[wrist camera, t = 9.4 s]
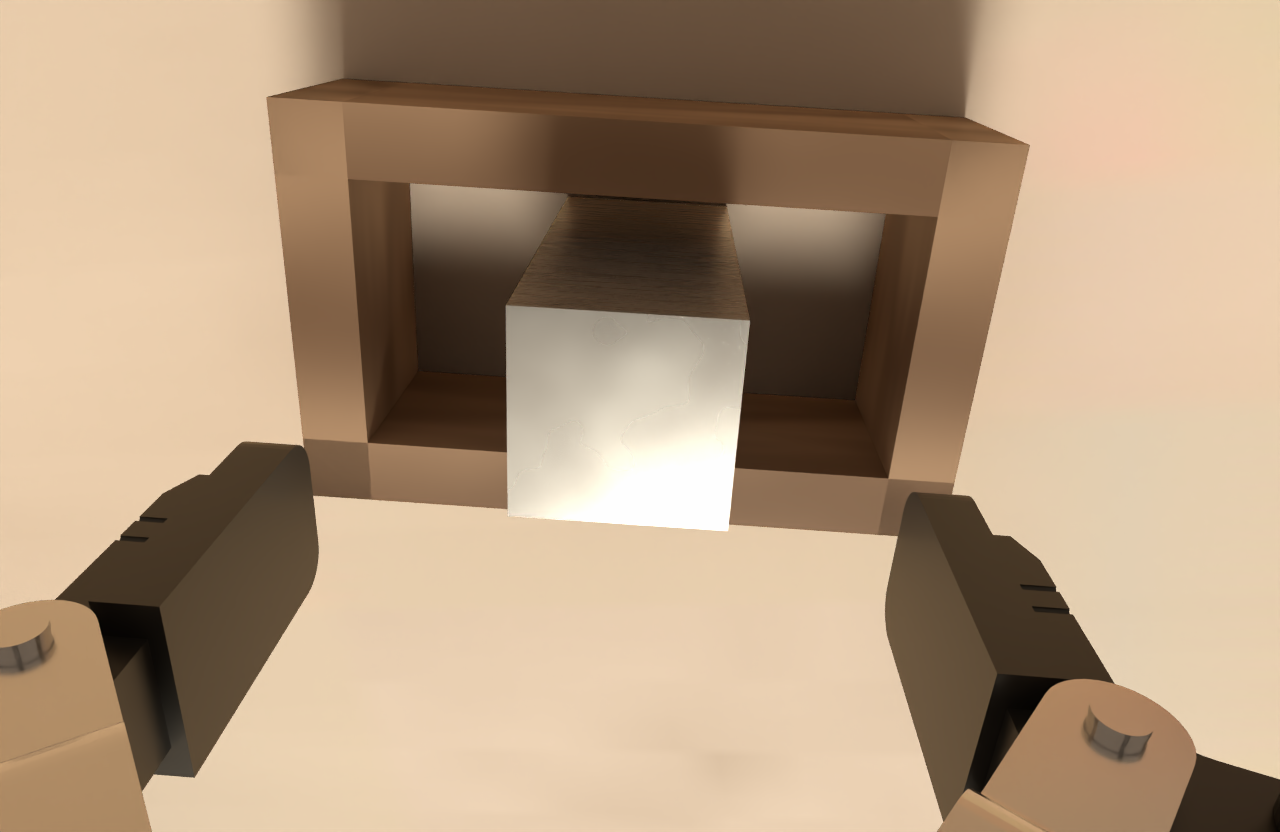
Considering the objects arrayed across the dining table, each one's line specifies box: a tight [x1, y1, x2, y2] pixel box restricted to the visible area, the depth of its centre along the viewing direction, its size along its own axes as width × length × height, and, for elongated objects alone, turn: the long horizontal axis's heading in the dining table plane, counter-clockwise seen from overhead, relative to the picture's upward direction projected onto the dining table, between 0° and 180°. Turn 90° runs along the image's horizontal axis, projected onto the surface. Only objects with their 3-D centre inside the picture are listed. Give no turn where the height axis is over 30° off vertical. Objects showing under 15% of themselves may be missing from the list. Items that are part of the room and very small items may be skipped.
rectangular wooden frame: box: [267, 79, 1030, 536], centre depth 22 cm, size 9×15×4 cm, turn 87°
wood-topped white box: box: [506, 197, 750, 531], centre depth 20 cm, size 4×4×9 cm
